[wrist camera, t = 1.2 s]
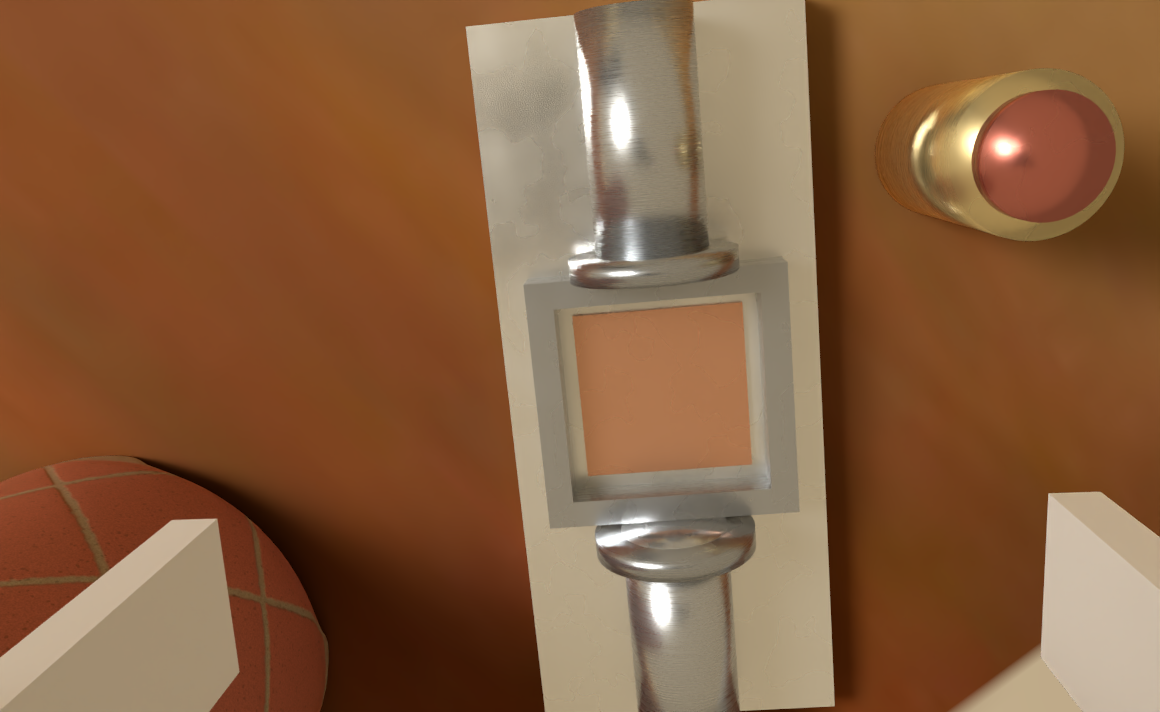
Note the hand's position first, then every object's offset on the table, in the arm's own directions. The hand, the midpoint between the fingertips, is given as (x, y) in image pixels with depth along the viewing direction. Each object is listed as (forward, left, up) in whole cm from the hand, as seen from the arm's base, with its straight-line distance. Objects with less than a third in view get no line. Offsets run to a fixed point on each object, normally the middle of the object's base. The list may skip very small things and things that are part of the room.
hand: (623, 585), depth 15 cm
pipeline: (+3, +1, -24) cm, 24 cm away
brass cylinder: (-5, +12, -24) cm, 27 cm away
